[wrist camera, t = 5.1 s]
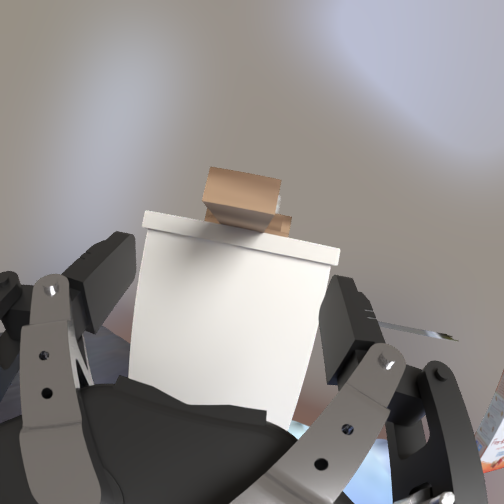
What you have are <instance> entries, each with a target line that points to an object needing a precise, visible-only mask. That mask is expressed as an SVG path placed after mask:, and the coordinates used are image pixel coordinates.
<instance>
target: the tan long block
mask: <svg viewBox="0 0 504 504" xmlns="http://www.w3.org/2000/svg"><path fill="white" fill-rule="evenodd" d="M280 185H281V180H279V179H275V178H270V177H265V176H260V175H255V174H250V173H244V172H239V171H233V170H228V169H222V168H216V167H210V170H209V174H208V178H207V182H206V186H205V191H204V195H203V199H202V201H203V202H204V204H205V205H206V206H207V212H206V216H205V221H206V222H211V223H217V224H222V225H227V226H232V227H237V228H242V229H247V230H252V231H257V232H262V233H267V234H272V235H277V236H282V237H287V238H288V235H289V229H290V224H291V219H292V217H290V216H285V215H281V214H278V212H279V207H280V202H281V196H279V190H280Z"/></svg>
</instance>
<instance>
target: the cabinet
mask: <svg viewBox="0 0 504 504" xmlns="http://www.w3.org/2000/svg"><path fill="white" fill-rule="evenodd" d="M142 227H145V228H148V231H147V236H146V241H145V246H144V252H143V257H142V262H141V268H140V274H139V280H138V287H137V294H136V301H135V309H134V317H133V325H132V336H131V346H130V359H129V375H128V378H129V379H132V380H135V381H138V382H142V383H145V384H148V385H151V386H154V387H155V388H157V389H159V390H161V391H163V392H164V393H166V394H168V395H170V396H172V397H174V398H176V399H178V400H180V401H182V402H184V403H186V404H190V405H234V406H240V407H246V408H252V409H259V410H267V417H266V421H269V422H271V423H273V424H275V425H278V426H280V427H281V428H283V429H285V430H286V431H288V429H289V426H290V423H291V420H292V416H293V413H294V410H295V407H296V404H297V401H298V398H299V394H300V391H301V388H302V384H303V380H304V377H305V374H306V370H307V367H308V363H309V359H310V355H311V352H312V348H313V344H314V340H315V336H316V332H317V328H318V324H319V320H318V316H319V310H320V306H321V303H322V301H323V299H324V296H325V293H326V288H327V282H328V278H329V273H330V268H331V265H336V266H337V265H338V260H339V255H340V249H338V248H334V247H329V246H324V245H319V244H315V243H311V242H306V241H301V240H296V239H292V238H287V237H282V236H277V235H272V234H267V233H262V232H257V231H252V230H247V229H242V228H237V227H232V226H227V225H222V224H217V223H211V222H206V221H201V220H195V219H190V218H184V217H179V216H173V215H168V214H162V213H157V212H151V211H145V214H144V219H143V224H142Z"/></svg>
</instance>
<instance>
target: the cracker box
mask: <svg viewBox="0 0 504 504" xmlns="http://www.w3.org/2000/svg"><path fill="white" fill-rule="evenodd" d="M474 436H475V440H476V443H477V447H478V451H479V456H480V460H481V464H482V469H483V473H486V472H490V471H493V470H497V469H500V468H503V467H504V370H503V373H502V376H501V378H500V381H499V384H498V386H497V389H496V391H495V394H494V396H493V398H492V401H491V403H490V405H489V407H488V410H487V412H486V414H485V416H484V418H483V420H482V422H481V424H480V426H479V428H478V430H477V432H476V433H475V435H474Z"/></svg>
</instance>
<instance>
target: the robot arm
mask: <svg viewBox="0 0 504 504" xmlns="http://www.w3.org/2000/svg"><path fill="white" fill-rule="evenodd" d="M135 273H136V250H135V237H134V235H133V234H128V233H123V232H118V231H116V232H114V233H113V234H112V235H111V236H110V237H109V238H108V239H106V240H105V241H101V242H99V243H97V244H94V245H93V246H92V247H90V248H89V249H88V250H87V251H86V253H84V254H83V255H81V257H80V258H79V259H77V260H76V261H75V262H74V263H73V264H72V265H71V266H70V267H69V268H68V269H66V270H65V272H63V273H62V274H61V275H60V274H50V275H47V276H44V277H42V278H40V279H39V280H38V281H37V282H36V283H35V285H34V286H32V285H21V284H20V281H19V278H18V275H17V274H16V273H15V272H12V271H6V272H2V273H0V320H1V321H2V323H3V325H4V327H5V329H6V330H5V331H4V333H3V334H2V335H1V337H0V402H1V400H2V398H3V396H4V394H5V393H6V391H7V389H8V387H9V386H10V384H11V382H12V380H13V379H14V377H15V375H16V374H17V372H18V370H19V369H20V395H21V409H22V415H20V416H17V417H15V418H12V419H10V420H8V421H5V422H3V423H0V504H354V503H353V502H352V501H351V500H350V499H349V498H348V496H347V495H346V494H345V493H344V492H343V489H344V488H345V487H346V485H347V484H348V483H349V481H350V480H351V478H352V477H353V475H354V474H355V472H356V471H357V469H358V468H359V466H360V465H361V463H362V462H363V460H364V459H365V457H366V455H367V454H368V452H369V450H370V449H371V447H372V445H373V444H374V442H375V440H376V438H377V437H378V435H379V433H380V431H381V429H382V428H383V426H384V424H385V426H386V433H387V440H388V449H389V458H390V468H391V480H392V496H393V504H488V500H487V493H486V486H485V480H484V474H483V469H482V464H481V460H480V456H479V451H478V447H477V443H476V440H475V436H474V432H473V429H472V426H471V422H470V419H469V416H468V413H467V410H466V407H465V404H464V401H463V398H462V395H461V392H460V390H459V387H458V384H457V382H456V379H455V376H454V374H453V372H452V371H451V370H450V368H448V367H447V366H446V365H445V364H444V363H442V362H439V361H430V362H429V363H428V364H427V365H426V366H425V367H424V369H423V370H421V369H418V368H415V367H412V366H409V365H406V362H405V359H404V357H403V355H402V354H401V353H400V352H399V351H398V350H397V349H396V348H395V347H393V346H391V345H389V344H386V343H385V340H384V338H383V336H382V332H381V330H380V327H379V324H378V322H377V320H376V317H375V314H374V312H373V309H372V306H371V304H370V301H369V300H368V299H367V298H366V297H365V295H364V294H363V293H362V292H358V291H357V288H356V286H355V283H354V280H353V279H352V278H349V277H343V276H338V275H334V276H333V277H332V279H331V281H330V284H329V286H328V289H327V291H326V294H325V296H324V299H323V301H322V303H321V306H320V310H319V316H318V320H319V327H320V334H321V341H322V348H323V356H324V363H325V372H326V380H327V385H338V390H339V392H338V393H337V395H336V396H335V397H334V399H333V400H332V401H331V402H330V404H329V405H328V406H327V407H326V409H325V410H324V411H323V412H322V414H321V415H320V416H319V417H318V418H317V419H316V421H315V422H314V423H313V424H312V425H311V426H310V427H309V429H308V430H307V431H306V432H305V433H304V434H303V435H302V436H301V437H300V439H299V440H298V439H296V438H295V437H294V436H293V435H292V434H290V433H289V432H288V431H286V430H285V429H283V428H281V427H280V426H278V425H275V424H273V423H271V422H269V421H266V417H267V410H259V409H252V408H246V407H240V406H234V405H190V404H186V403H184V402H182V401H180V400H178V399H176V398H174V397H172V396H170V395H168V394H166V393H164V392H163V391H161V390H159V389H157V388H155V387H154V386H151V385H148V384H145V383H142V382H138V381H135V380H132V379H129V378H127V377H124V376H121V375H119V377H118V379H117V381H116V383H115V384H95V385H94V383H93V380H92V376H91V372H90V367H89V362H88V357H87V351H86V346H85V340H84V336H83V332H84V331H88V332H90V333H93V334H96V333H97V331H98V330H99V328H100V327H101V325H102V324H103V323H104V321H105V319H106V318H107V317H108V315H109V314H110V312H111V311H112V310H113V308H114V306H115V305H116V304H117V303H118V301H119V300H120V298H121V297H122V296H123V294H124V293H125V291H126V290H127V289H128V287H129V286H130V285H131V283H132V282H133V280H134V278H135ZM425 415H426V418H427V422H428V426H429V431H430V437H429V440H428V442H427V444H426V440H425V435H424V430H423V425H422V421H421V418H422V417H424V416H425Z"/></svg>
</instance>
